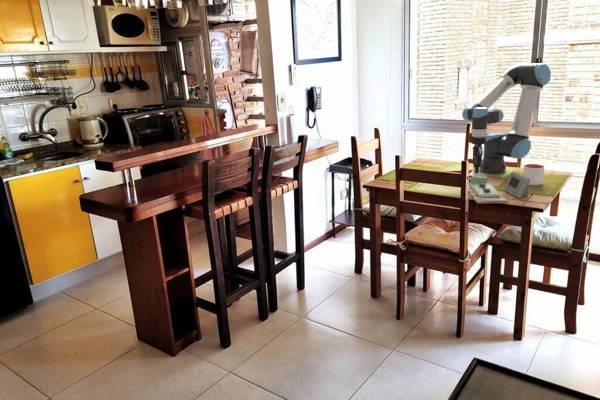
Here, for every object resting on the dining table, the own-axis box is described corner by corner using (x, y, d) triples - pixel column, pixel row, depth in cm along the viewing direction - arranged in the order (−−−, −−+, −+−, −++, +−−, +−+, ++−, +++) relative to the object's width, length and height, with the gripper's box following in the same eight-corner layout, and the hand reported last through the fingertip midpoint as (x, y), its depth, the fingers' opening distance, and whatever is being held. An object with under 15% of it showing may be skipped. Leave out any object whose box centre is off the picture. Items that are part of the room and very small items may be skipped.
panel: (468, 185, 250) (469, 177, 249) (487, 184, 249) (488, 176, 248) (478, 197, 230) (479, 188, 228) (499, 196, 228) (500, 188, 227)
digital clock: (503, 190, 243) (504, 170, 240) (520, 189, 242) (522, 170, 239) (511, 199, 228) (513, 179, 225) (530, 199, 227) (533, 178, 224)
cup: (544, 186, 245) (546, 168, 242) (524, 186, 247) (526, 168, 244) (539, 181, 255) (541, 163, 252) (520, 181, 257) (521, 164, 254)
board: (464, 186, 253) (464, 179, 251) (490, 186, 251) (491, 179, 250) (477, 203, 225) (477, 195, 224) (506, 203, 223) (507, 194, 222)
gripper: (468, 134, 254) (466, 175, 261) (474, 138, 241) (471, 181, 248) (482, 134, 253) (479, 175, 260) (489, 138, 240) (485, 181, 248)
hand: (475, 178), depth 254 cm, fingers closed
